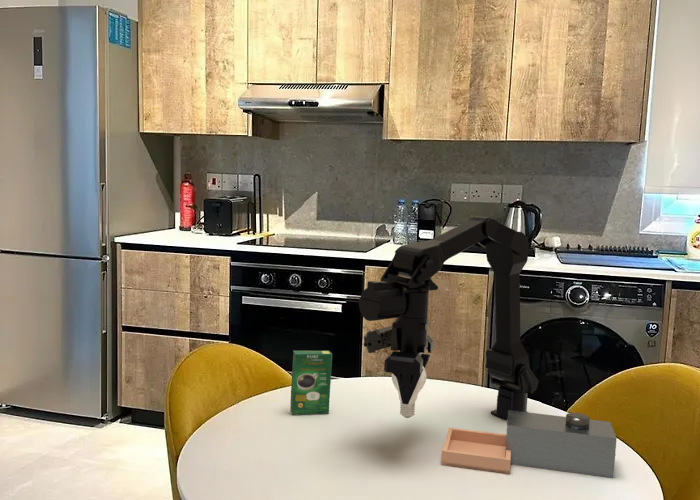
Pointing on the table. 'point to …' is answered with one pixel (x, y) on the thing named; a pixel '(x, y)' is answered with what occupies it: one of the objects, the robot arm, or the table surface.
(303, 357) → the coffee box
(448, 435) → the dish
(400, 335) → the robot arm
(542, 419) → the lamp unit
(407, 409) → the lightbulb
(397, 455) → the table surface
